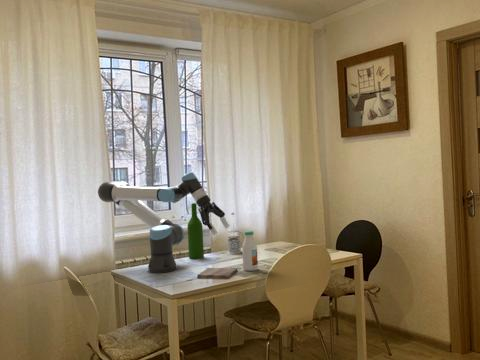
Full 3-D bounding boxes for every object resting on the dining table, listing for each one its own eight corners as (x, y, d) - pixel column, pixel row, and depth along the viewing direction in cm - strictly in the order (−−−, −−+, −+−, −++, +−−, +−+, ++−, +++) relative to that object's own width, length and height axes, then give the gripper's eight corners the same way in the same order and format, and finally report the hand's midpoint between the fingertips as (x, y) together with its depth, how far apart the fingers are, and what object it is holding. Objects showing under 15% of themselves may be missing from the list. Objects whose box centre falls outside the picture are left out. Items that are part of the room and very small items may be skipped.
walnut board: (197, 278, 240) (197, 275, 240) (208, 270, 255) (208, 267, 255) (228, 278, 235) (228, 275, 235) (237, 271, 251) (237, 268, 251)
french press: (224, 252, 305) (222, 212, 304) (240, 250, 310) (239, 211, 309) (230, 254, 296) (228, 213, 295) (247, 252, 301) (245, 212, 300)
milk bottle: (247, 271, 248) (245, 232, 247) (240, 269, 255) (238, 231, 254) (260, 269, 251) (259, 231, 251) (253, 267, 258) (251, 229, 257)
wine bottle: (205, 255, 296) (202, 202, 295) (201, 258, 287) (199, 204, 286) (191, 256, 297) (188, 203, 296) (187, 259, 289) (184, 204, 287)
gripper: (193, 199, 255) (214, 233, 253) (217, 190, 277) (237, 221, 274) (184, 206, 259) (205, 240, 256) (208, 196, 280) (228, 227, 278)
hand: (221, 230), depth 265 cm, fingers open, 13 cm apart
